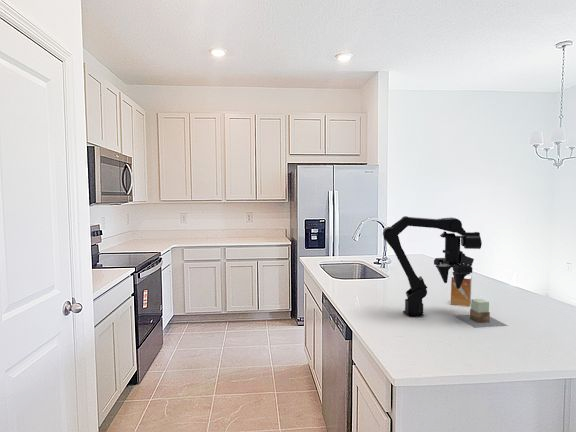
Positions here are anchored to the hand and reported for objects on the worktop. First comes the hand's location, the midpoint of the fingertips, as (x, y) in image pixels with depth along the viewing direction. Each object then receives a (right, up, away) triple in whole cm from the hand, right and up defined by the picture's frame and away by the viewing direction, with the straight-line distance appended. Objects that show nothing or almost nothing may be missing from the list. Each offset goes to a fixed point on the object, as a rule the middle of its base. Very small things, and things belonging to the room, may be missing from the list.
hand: (451, 285), depth 153 cm
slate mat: (+9, -13, -5) cm, 17 cm away
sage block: (+9, -9, -5) cm, 14 cm away
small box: (+12, -12, +18) cm, 24 cm away
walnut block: (+9, -13, -5) cm, 16 cm away
